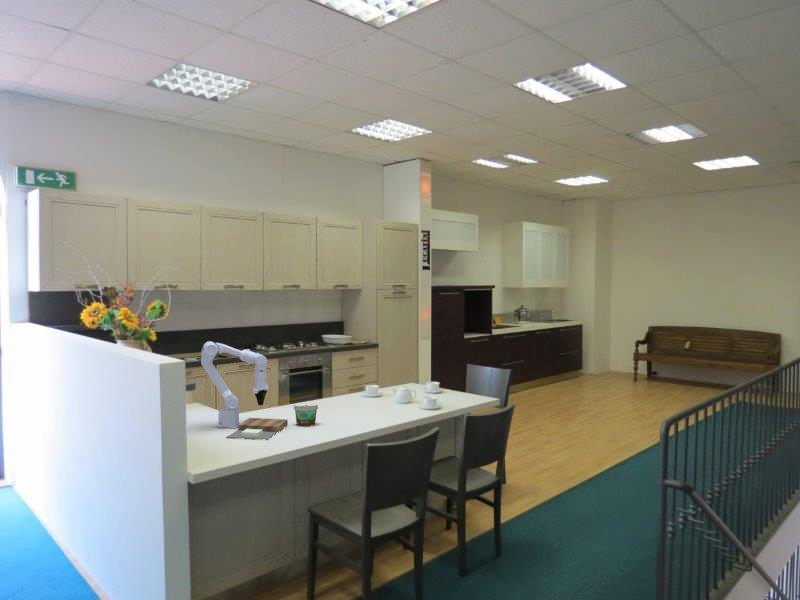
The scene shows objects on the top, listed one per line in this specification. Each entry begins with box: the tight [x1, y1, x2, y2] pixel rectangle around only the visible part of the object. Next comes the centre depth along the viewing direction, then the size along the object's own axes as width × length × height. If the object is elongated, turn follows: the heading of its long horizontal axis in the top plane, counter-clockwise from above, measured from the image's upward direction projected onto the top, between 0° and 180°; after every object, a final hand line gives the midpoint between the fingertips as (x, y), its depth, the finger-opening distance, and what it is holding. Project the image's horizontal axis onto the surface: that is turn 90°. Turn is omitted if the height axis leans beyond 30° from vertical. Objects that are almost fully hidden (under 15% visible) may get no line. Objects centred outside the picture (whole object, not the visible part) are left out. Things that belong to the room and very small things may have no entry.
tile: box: [241, 429, 263, 437], centre depth 261 cm, size 8×6×2 cm
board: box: [237, 417, 288, 433], centre depth 275 cm, size 20×14×3 cm
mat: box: [226, 429, 278, 441], centre depth 262 cm, size 20×12×1 cm, turn 82°
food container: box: [293, 404, 319, 427], centre depth 281 cm, size 12×6×10 cm, turn 101°
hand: (260, 405), depth 284 cm, fingers closed
